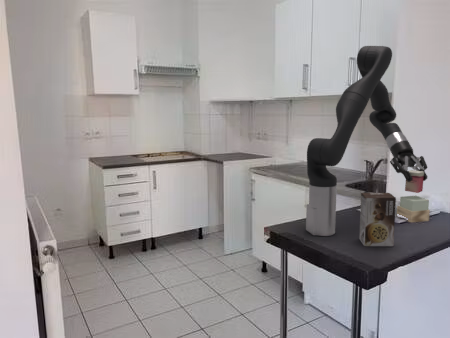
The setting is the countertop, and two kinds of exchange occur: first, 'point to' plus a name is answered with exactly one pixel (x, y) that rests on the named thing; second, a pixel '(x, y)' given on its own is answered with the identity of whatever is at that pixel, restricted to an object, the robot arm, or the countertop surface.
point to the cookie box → (377, 219)
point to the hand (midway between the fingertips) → (417, 180)
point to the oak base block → (414, 214)
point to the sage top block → (414, 203)
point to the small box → (415, 182)
